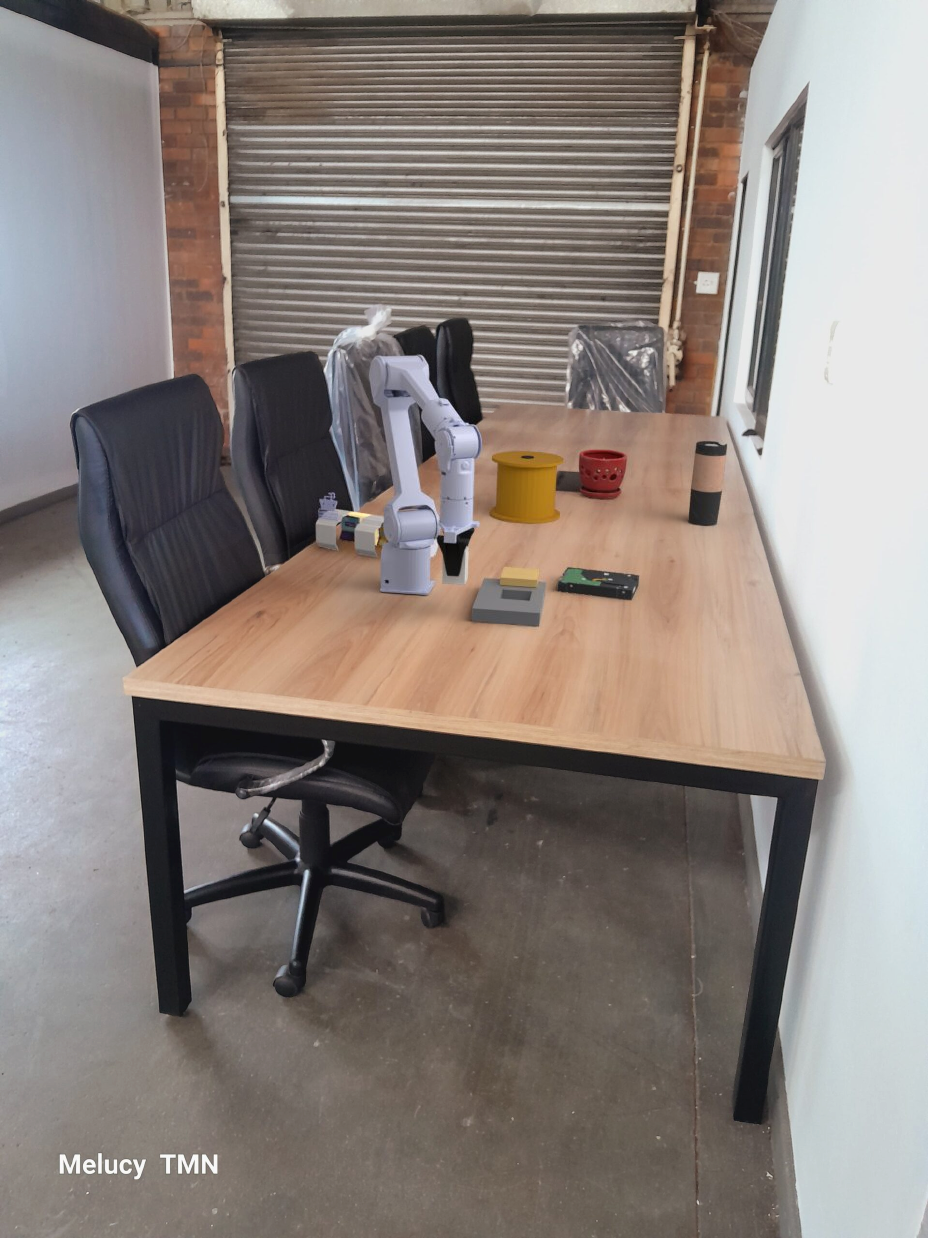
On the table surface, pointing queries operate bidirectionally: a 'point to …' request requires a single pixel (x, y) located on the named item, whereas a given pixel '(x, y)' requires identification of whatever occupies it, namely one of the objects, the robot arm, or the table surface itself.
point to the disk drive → (598, 583)
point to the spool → (526, 486)
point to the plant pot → (601, 473)
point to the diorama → (352, 529)
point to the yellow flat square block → (519, 577)
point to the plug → (463, 573)
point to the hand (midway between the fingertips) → (455, 571)
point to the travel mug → (707, 483)
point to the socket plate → (508, 603)
